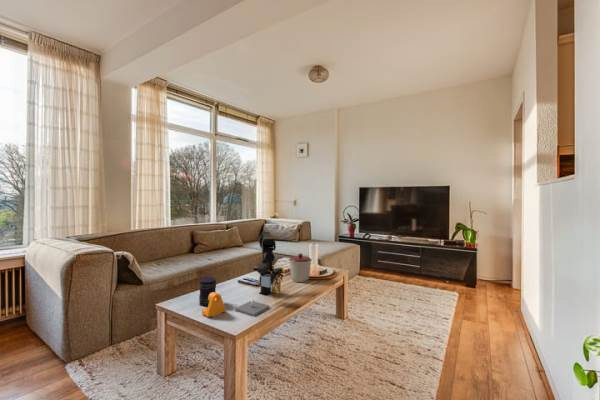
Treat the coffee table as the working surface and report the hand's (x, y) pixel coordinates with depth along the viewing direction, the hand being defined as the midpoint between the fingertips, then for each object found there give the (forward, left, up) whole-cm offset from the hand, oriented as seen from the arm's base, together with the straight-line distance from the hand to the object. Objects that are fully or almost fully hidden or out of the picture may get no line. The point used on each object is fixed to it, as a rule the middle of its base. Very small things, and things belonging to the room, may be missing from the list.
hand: (267, 283), depth 176 cm
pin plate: (-1, -13, -12) cm, 18 cm away
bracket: (-16, -29, -12) cm, 36 cm away
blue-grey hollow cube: (0, 0, -1) cm, 1 cm away
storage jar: (-30, -21, -12) cm, 39 cm away
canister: (-6, +49, -12) cm, 51 cm away
